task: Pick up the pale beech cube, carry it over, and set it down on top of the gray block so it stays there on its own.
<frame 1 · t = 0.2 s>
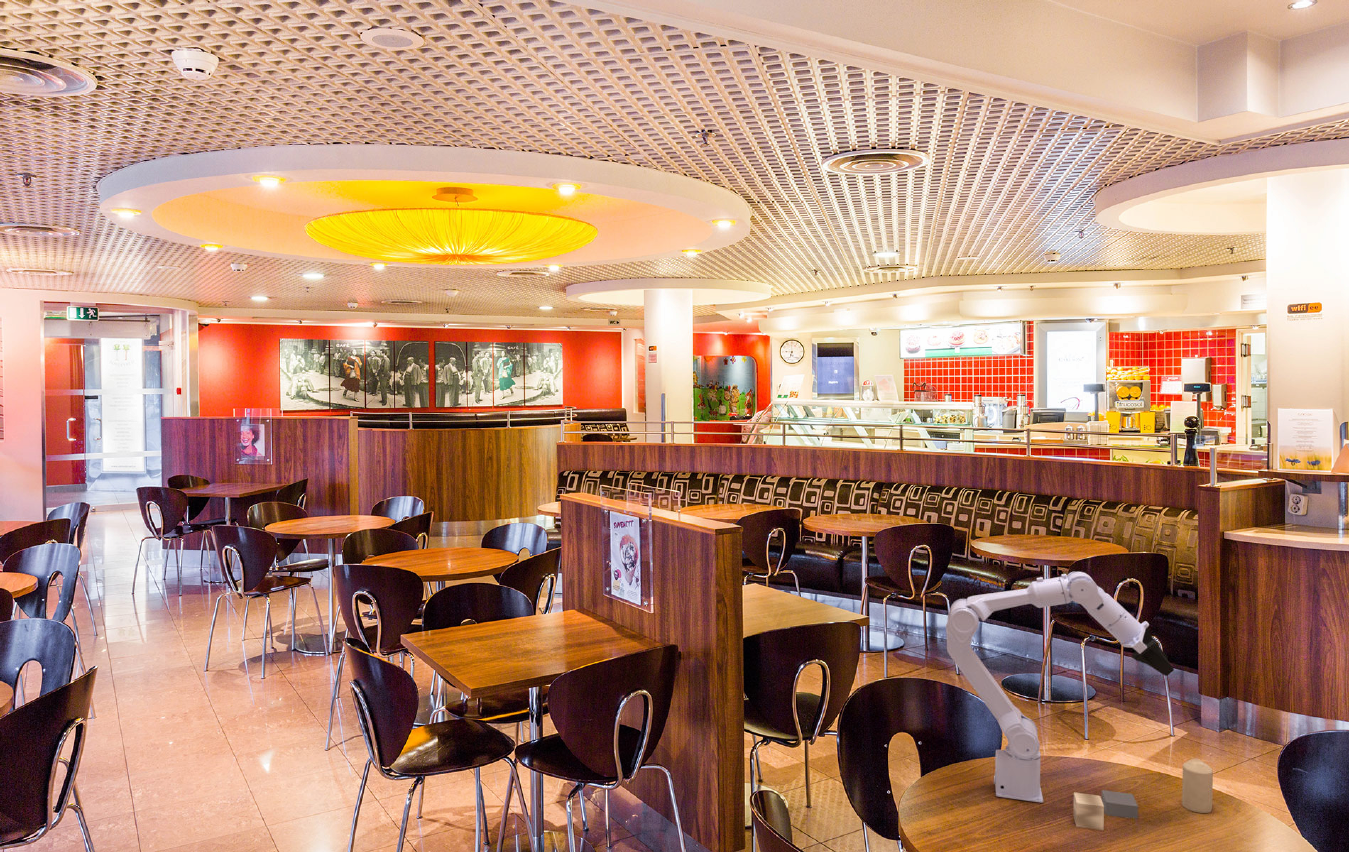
hand: (1166, 666, 181), 31 cm above the table, tool tilted 45°, fingers open, 7 cm apart
candle: (1196, 808, 185), on the table
gray block: (1119, 812, 184), on the table
beech cube: (1088, 823, 178), on the table
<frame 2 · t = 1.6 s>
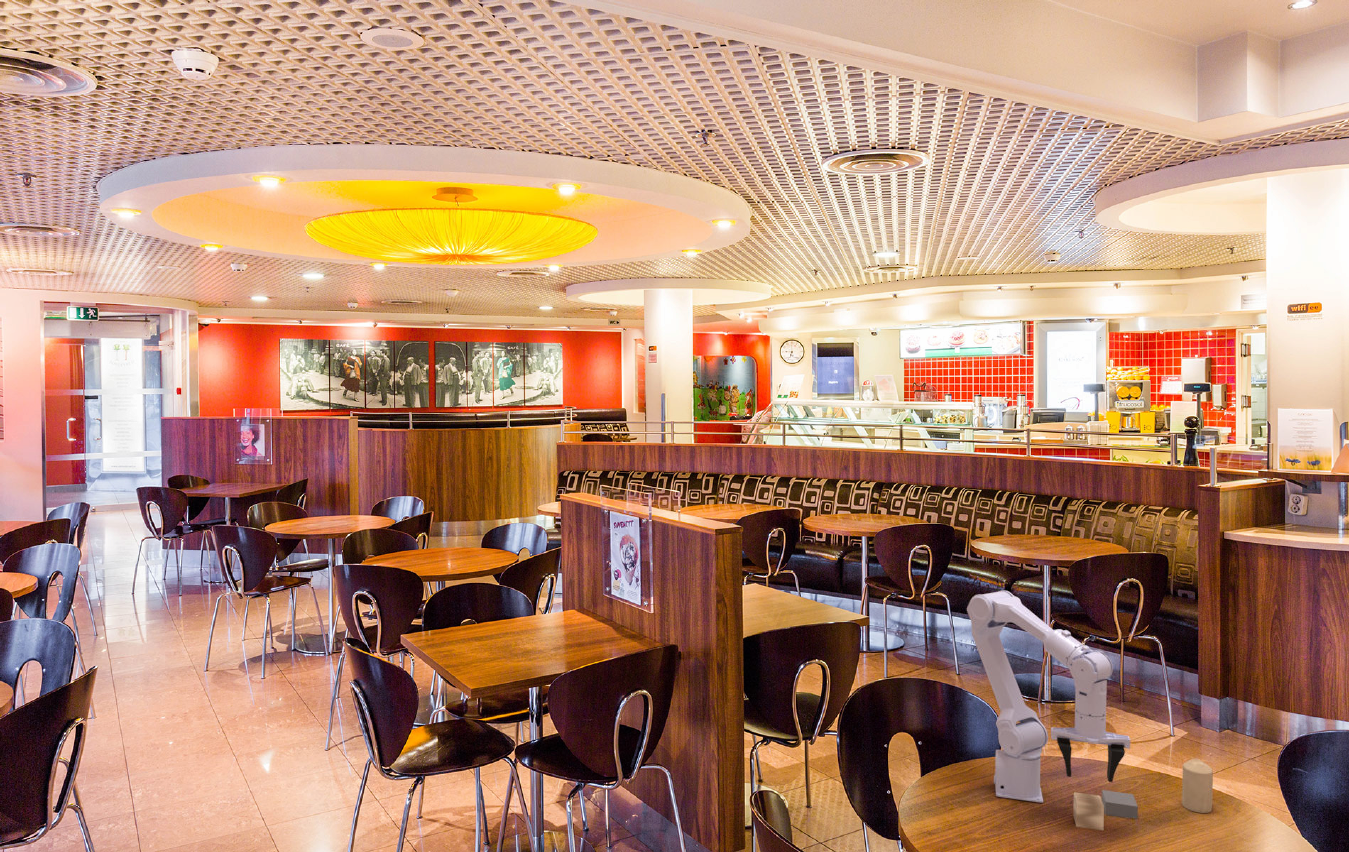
hand: (1089, 777, 178), 9 cm above the table, tool pointing down, fingers open, 7 cm apart
nothing on the table moved.
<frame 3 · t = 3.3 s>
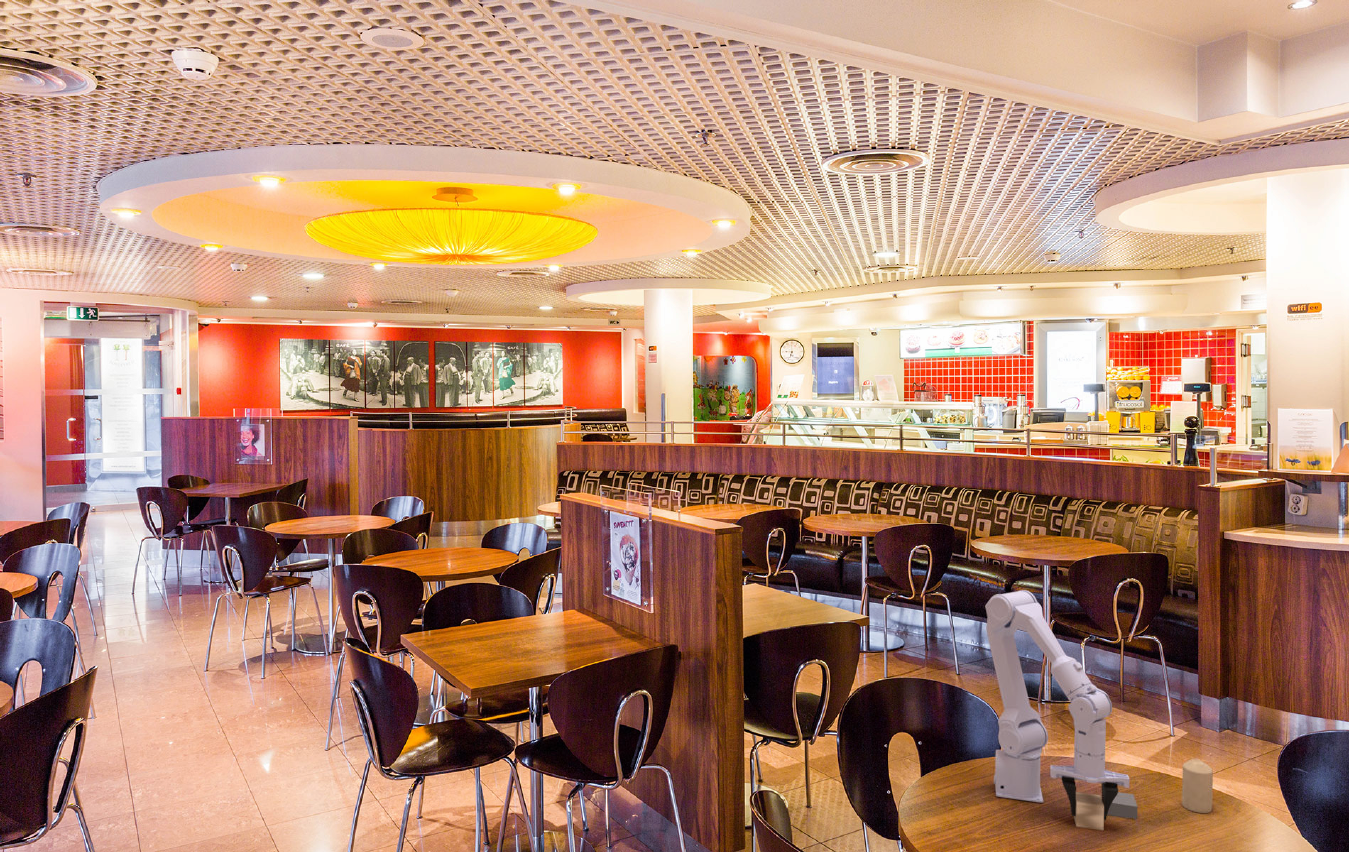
hand: (1088, 815, 178), 1 cm above the table, tool pointing down, fingers closed on beech cube, 5 cm apart
beech cube: (1088, 822, 178), on the table, touching gripper
everything else where it was.
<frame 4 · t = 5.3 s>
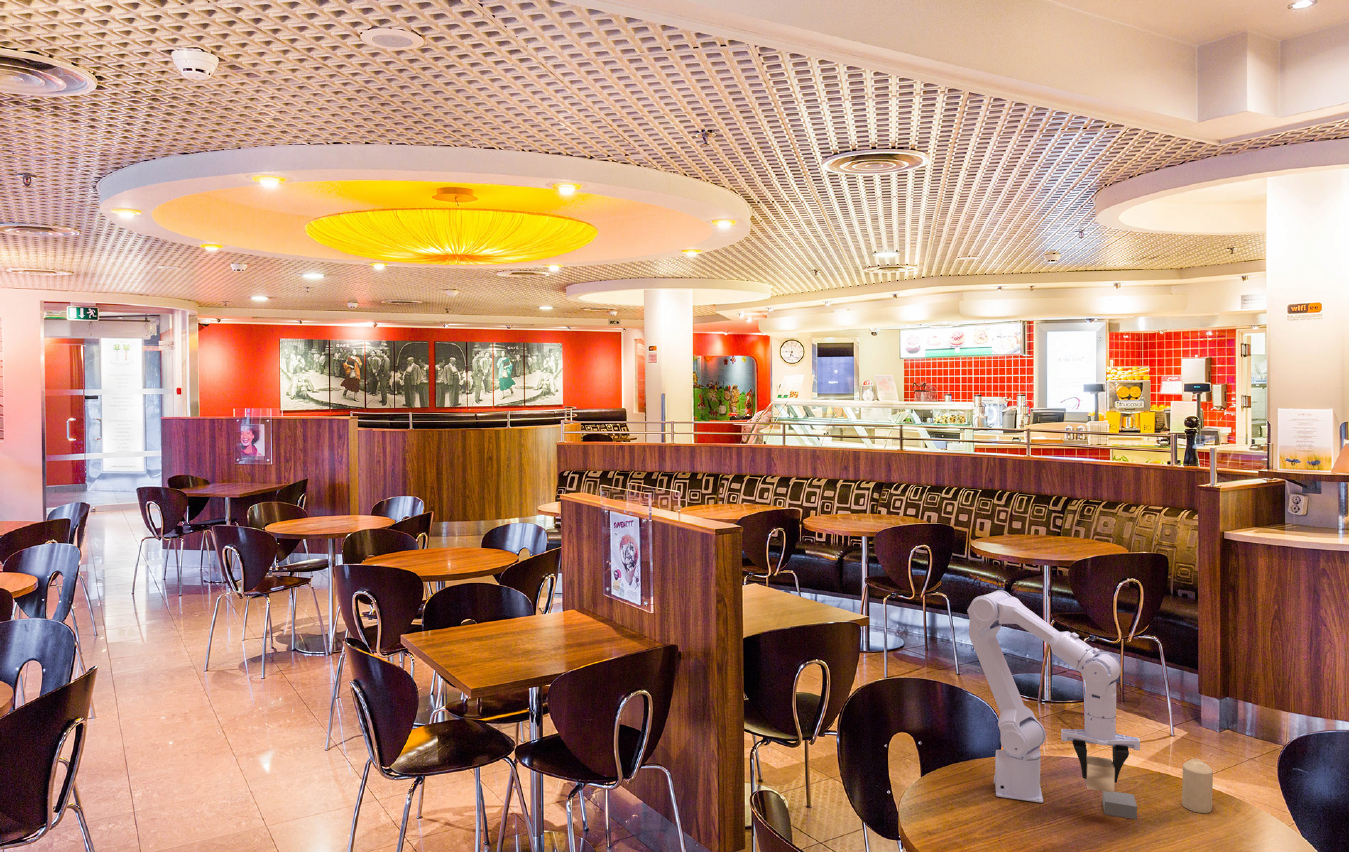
hand: (1099, 778, 180), 8 cm above the table, tool pointing down, fingers closed on beech cube, 5 cm apart
beech cube: (1099, 785, 180), point 7 cm above the table, touching gripper
everything else where it was.
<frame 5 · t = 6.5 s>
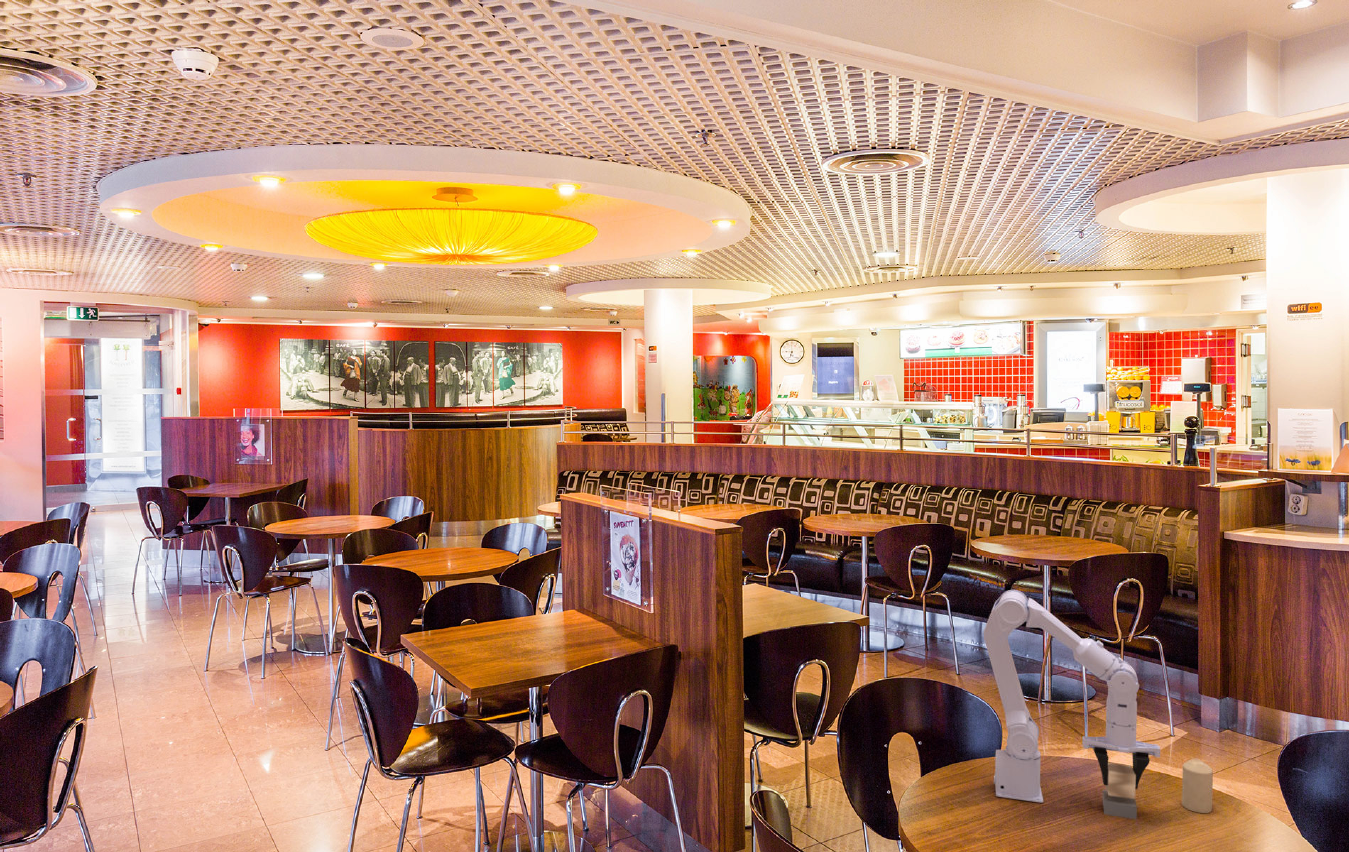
hand: (1119, 785, 183), 5 cm above the table, tool pointing down, fingers closed on beech cube, 5 cm apart
beech cube: (1119, 792, 183), point 4 cm above the table, touching gripper
everything else where it was.
when the fingers open (5 cm above the table, at t = 7.3 s): beech cube drops 1 cm, resting on gray block.
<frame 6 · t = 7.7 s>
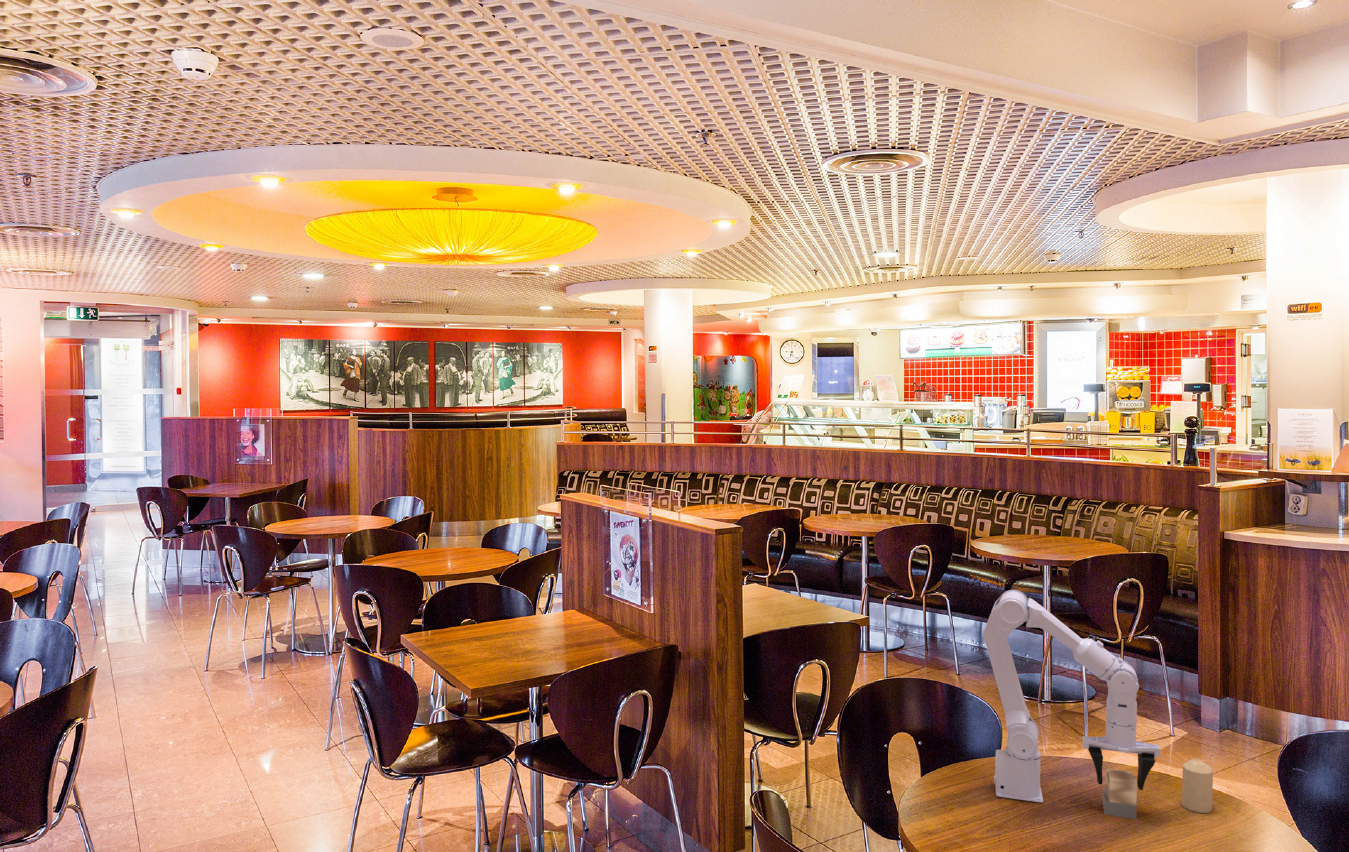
hand: (1119, 785, 183), 5 cm above the table, tool pointing down, fingers open, 7 cm apart
gray block: (1119, 812, 184), on the table, touching beech cube
beech cube: (1120, 798, 183), point 3 cm above the table, touching gray block
everything else where it was.
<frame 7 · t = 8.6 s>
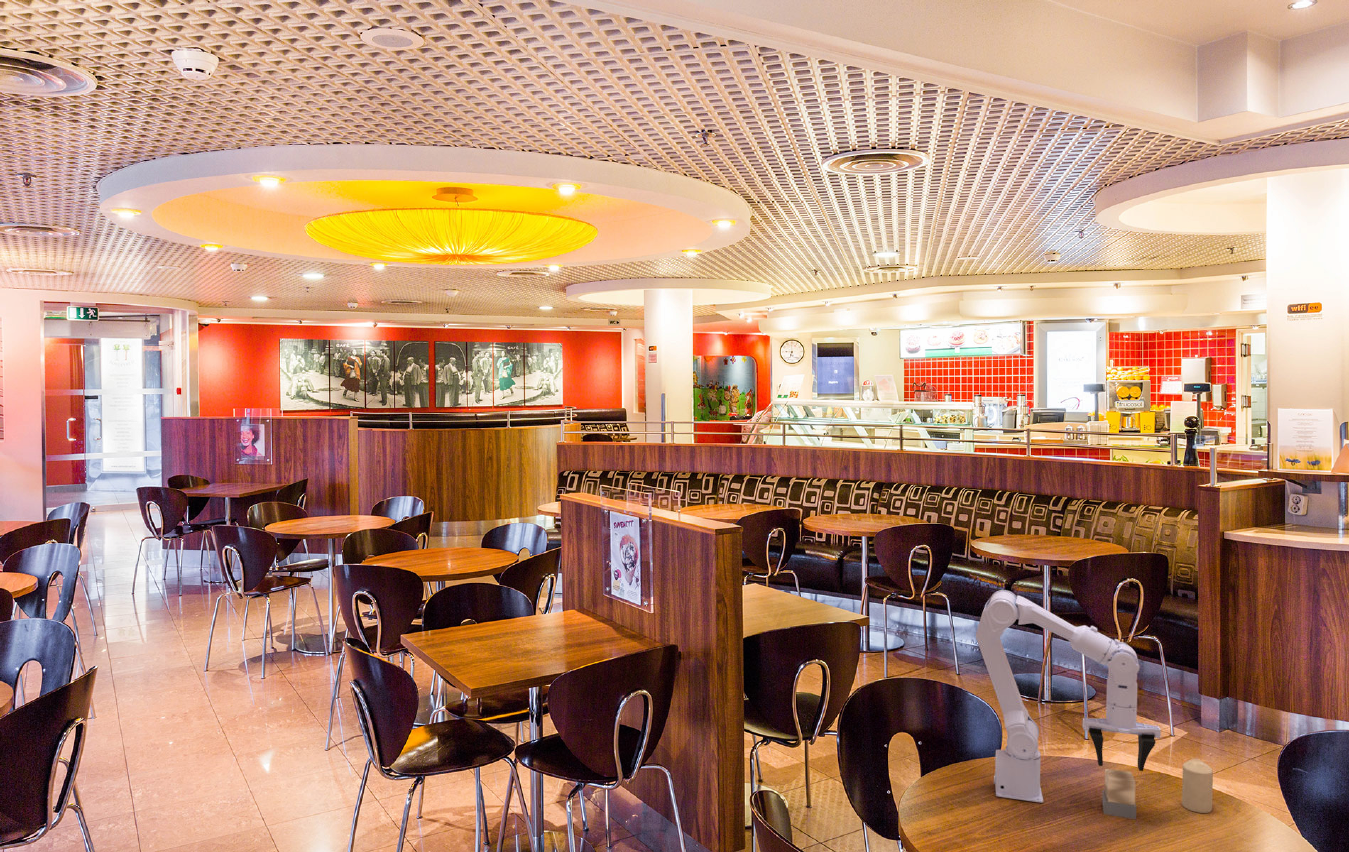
hand: (1120, 766, 183), 9 cm above the table, tool pointing down, fingers open, 7 cm apart
gray block: (1118, 812, 184), on the table
beech cube: (1119, 798, 183), point 3 cm above the table
everything else where it was.
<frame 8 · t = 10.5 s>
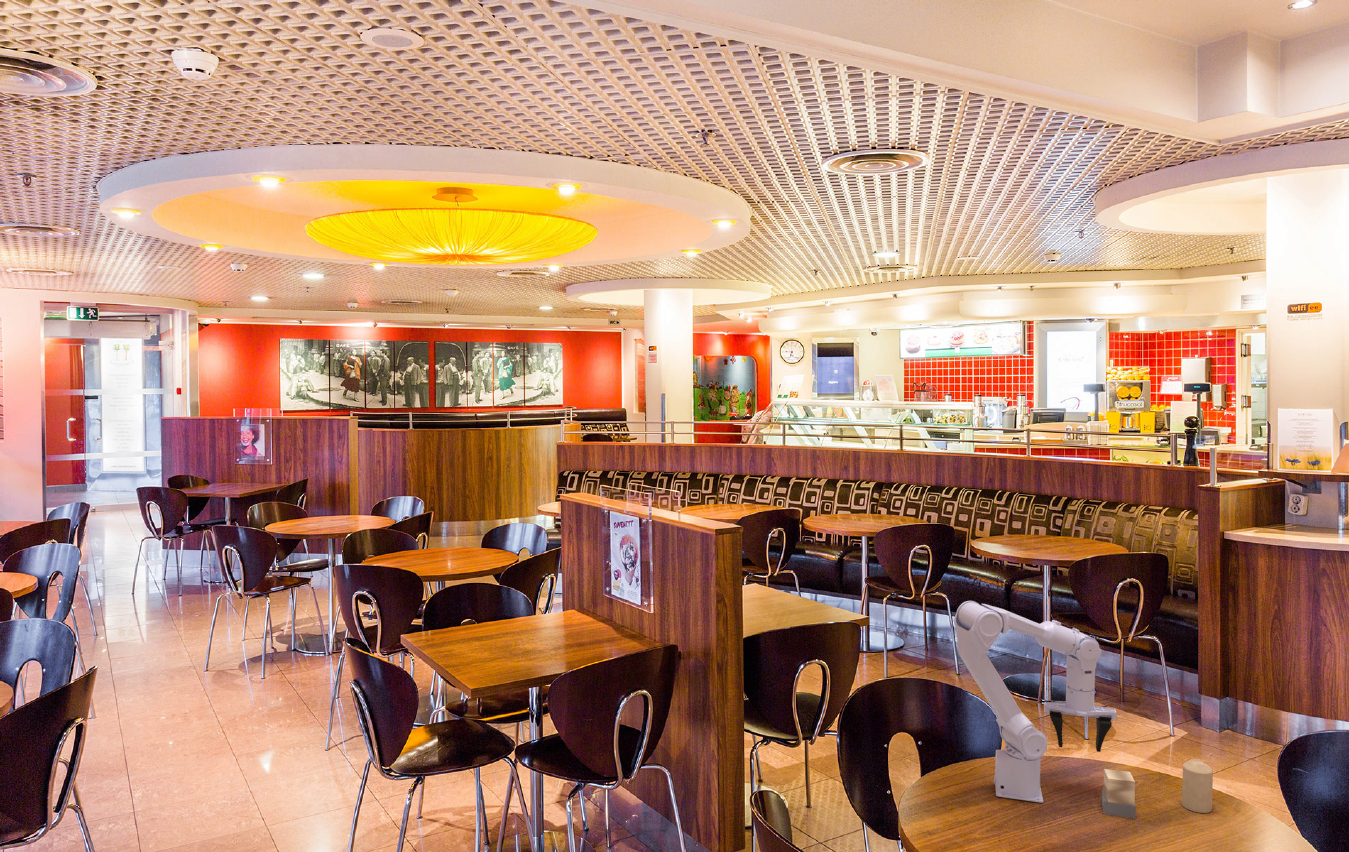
hand: (1079, 747, 193), 9 cm above the table, tool pointing down, fingers open, 7 cm apart
gray block: (1118, 811, 184), on the table, touching beech cube
beech cube: (1118, 798, 183), point 3 cm above the table, touching gray block
everything else where it was.
at the end: beech cube 0.3 cm off-centre on the gray block, point 3.1 cm above the gray block's base; beech cube tilted 1°; the gripper is holding nothing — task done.
